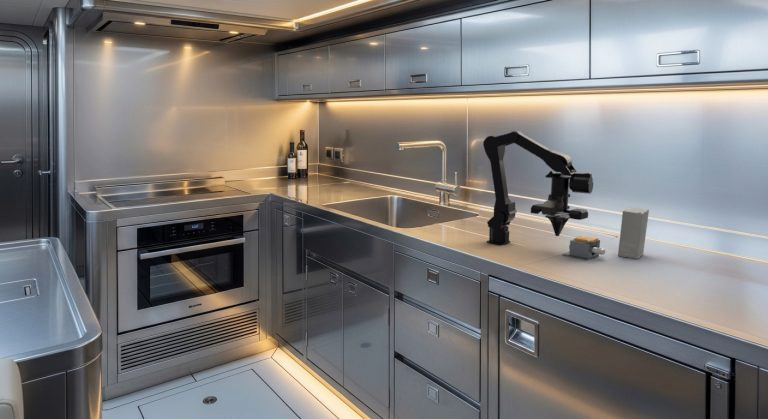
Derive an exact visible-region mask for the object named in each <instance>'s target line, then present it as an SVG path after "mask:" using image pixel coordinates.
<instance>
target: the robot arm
mask: <svg viewBox="0 0 768 419" xmlns="http://www.w3.org/2000/svg"><path fill="white" fill-rule="evenodd" d="M482 143H483V144H482V146H483V149H484V152H485V153H484V154H485V155H486V156H487V158H488V160H489V163H490V169H491V175H492V176H491V177H492V183H493V189H494V190H493V192H494V197H495V202H494V205H493V216H492V217H490V219H489V220H488V221H487V222H486V223H487V227H488V228H489V229H488V230H489V232H488V233H489V235H488V236H489V238H488V240H486V243H489V244H493V245H500V246H502V245H505V244H509V243H511V240H510V230H509V226H510V224H511V222H512V221H514V219H515V217H516V213H518V211H517V209H516V202H515V201H511V199H510V197H509V192H508V191H509V190H508V185H507V176H506V172H505V171H506V170H505V163H504V157H505V152H506V147H507V146H510V145H513V144H515V145H517V146H519V147H521V148H522V149H524V150H526V151H527V152H529V153H531V154H532V155H535V156H536V157H538V158H539V159H541V161H543V162H544V163H545V164H546V166H548V167H549V168H550V169H551V170H550V171H549V172H548V173H547V174H546V175H545V178H547V179H548V178H549V179H551V184H550V186H551V187H550V189H551V190H550V193H549V194H548V195H547V196H548V198H547V200H545V201H544V202H543V203H537V204H532V205H531V207H530V213H531V214H535V215H536V214H537V215H538V214H540V213H541V214H542V215H543V216H544V217H545V219H546V218H547V219H548V220H549V221H550V223H551V225H552V228H553V232H554V235H555V236H556V237H560V235H561V233H562V231H563V229H564V227H565V225H566V224H567V222H568V221H569V219H571V220H578V221H582V220H584V219H588V218H589V212H588V210H587V209H584V208H574V209H573V208H572V209H570V205H569V198H571V194H570V193H569V190H570V191H572V193H577V194H589V195H590V194H592V193H593V189H594V181H593V180H594V179H593V177H592V176H593V173H592V172H578V170H577V168H575V166H574V164H573V159H572V157H571V156H570V155H568V154H566V153H564V152H561V151H558V150H553V149H551V148H549V147H547V146H545V145H543V144H542V143H539V142H537V140H535V139H533V138H531V137H529V136H527V135H525V133H523V132H521V131H520V130H513V131H511V132H508V133H504V134H502V135H497V134H496V135H489V136H486V137H485V139H484V140H483V142H482Z"/></svg>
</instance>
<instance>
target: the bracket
mask: <svg viewBox="0 0 768 419" xmlns="http://www.w3.org/2000/svg"><path fill="white" fill-rule="evenodd" d="M595 238H598V236H597V237H595ZM569 245H570V250H568V251H566V252H563V253H562V254H561V255H562V256H565V257H571V258H575V259H580V260H586V261H589V260H592V259H595V258H598V257H599V256H600V254H595V253H592V247H596V248H601V247H600V245H601V240H600V239H599V238H598V241H595V242H592V243H591V242H590V240H588V241H587V242H584V241H577V240H574V239H571V240H569Z"/></svg>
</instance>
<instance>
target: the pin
mask: <svg viewBox="0 0 768 419" xmlns="http://www.w3.org/2000/svg"><path fill="white" fill-rule="evenodd" d="M568 249H569V250H568V251H570V244H569V247H568ZM592 253H595V254H599V256H600V255H602V256H603V255H605V253H606V250H605V249H604V248H601V247H600V248H596V247H592Z"/></svg>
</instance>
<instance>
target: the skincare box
mask: <svg viewBox="0 0 768 419" xmlns="http://www.w3.org/2000/svg"><path fill="white" fill-rule="evenodd" d="M649 213H650V209H647V208H641V207H635V206H629V207H627V208H626V209H624V210H622V216H621V224H620V225H621V226H620V235H619V242H618V250H617V256H618V257H624V258H628V259H635V260H638V259H639V258H640V257H642V256H643V254H644V253H645V252H644V250H645V242H646V236H647V228H648V220H649Z"/></svg>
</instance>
